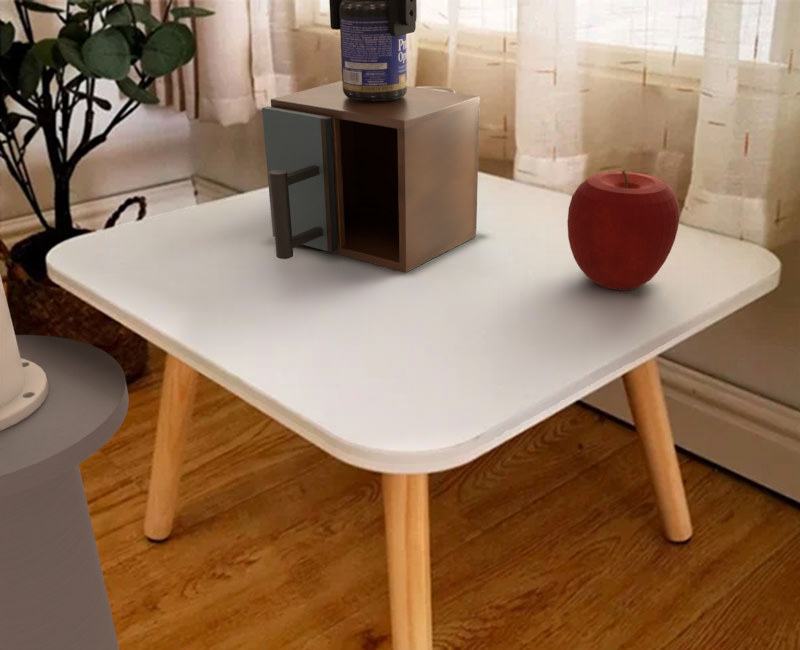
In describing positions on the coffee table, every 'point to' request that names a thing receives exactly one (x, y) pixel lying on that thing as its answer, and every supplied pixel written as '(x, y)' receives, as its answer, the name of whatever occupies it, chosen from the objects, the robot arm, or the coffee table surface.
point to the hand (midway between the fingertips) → (372, 28)
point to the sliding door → (300, 180)
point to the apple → (622, 227)
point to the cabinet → (400, 171)
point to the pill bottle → (371, 52)
